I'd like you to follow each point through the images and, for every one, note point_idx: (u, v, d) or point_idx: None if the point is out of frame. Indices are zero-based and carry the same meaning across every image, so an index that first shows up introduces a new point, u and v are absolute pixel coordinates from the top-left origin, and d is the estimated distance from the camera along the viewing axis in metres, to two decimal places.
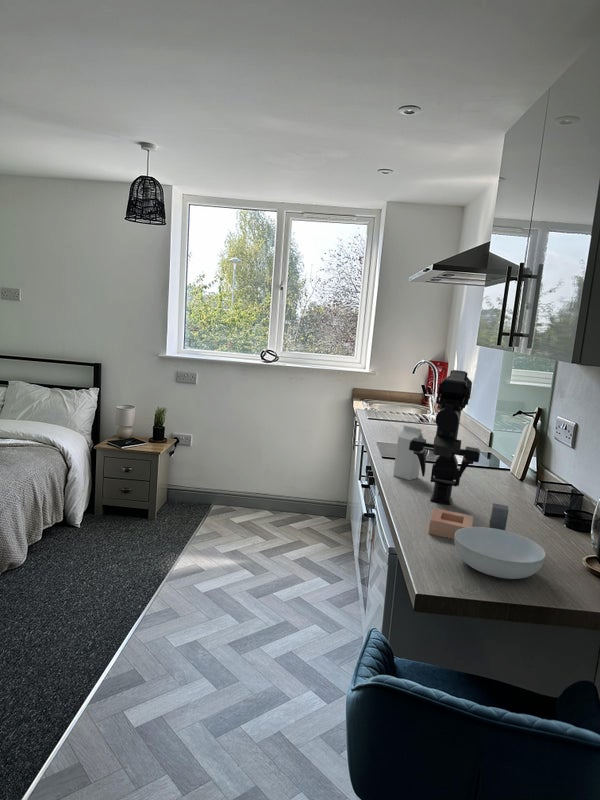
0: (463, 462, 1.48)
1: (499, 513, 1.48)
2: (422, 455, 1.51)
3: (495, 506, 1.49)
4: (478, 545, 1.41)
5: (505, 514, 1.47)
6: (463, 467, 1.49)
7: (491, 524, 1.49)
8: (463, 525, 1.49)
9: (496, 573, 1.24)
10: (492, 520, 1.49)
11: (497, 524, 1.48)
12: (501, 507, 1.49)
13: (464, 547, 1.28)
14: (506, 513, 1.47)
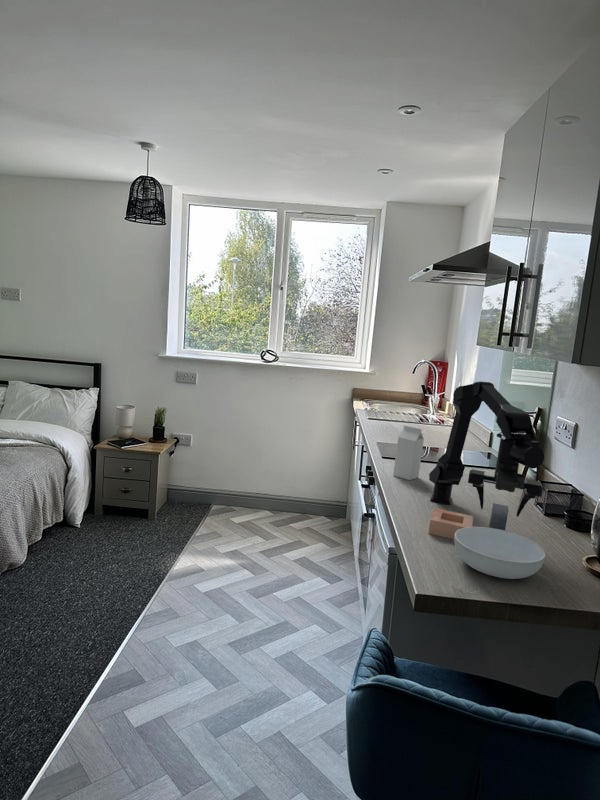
0: (525, 496, 1.45)
1: (499, 513, 1.48)
2: (482, 488, 1.48)
3: (495, 506, 1.49)
4: (478, 545, 1.41)
5: (505, 514, 1.47)
6: (524, 501, 1.46)
7: (491, 524, 1.49)
8: (463, 525, 1.49)
9: (496, 573, 1.24)
10: (492, 520, 1.49)
11: (496, 524, 1.48)
12: (501, 507, 1.49)
13: (464, 547, 1.28)
14: (506, 513, 1.47)
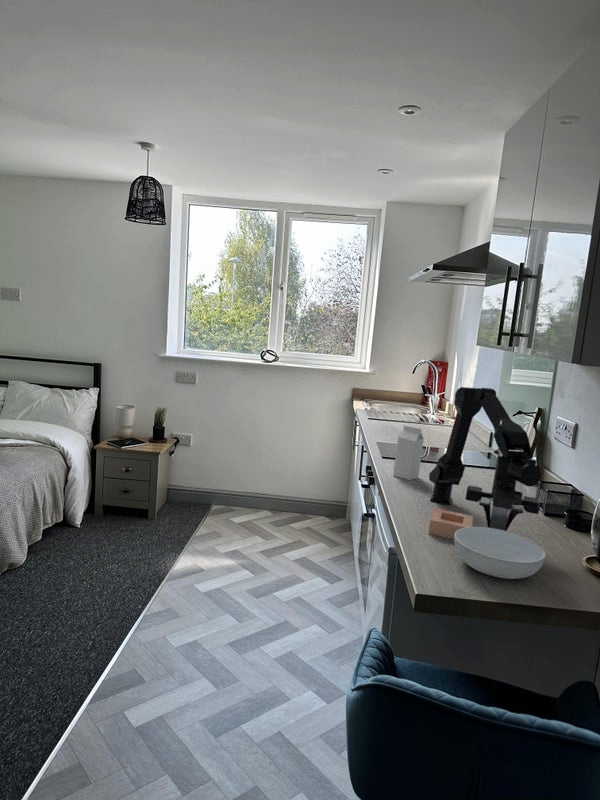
0: (513, 511, 1.46)
1: (499, 513, 1.48)
2: (489, 507, 1.48)
3: None
4: (478, 545, 1.41)
5: (505, 514, 1.47)
6: (512, 516, 1.47)
7: (491, 524, 1.49)
8: (463, 525, 1.49)
9: (496, 573, 1.24)
10: (492, 520, 1.49)
11: (497, 523, 1.48)
12: None
13: (464, 547, 1.28)
14: (506, 513, 1.47)
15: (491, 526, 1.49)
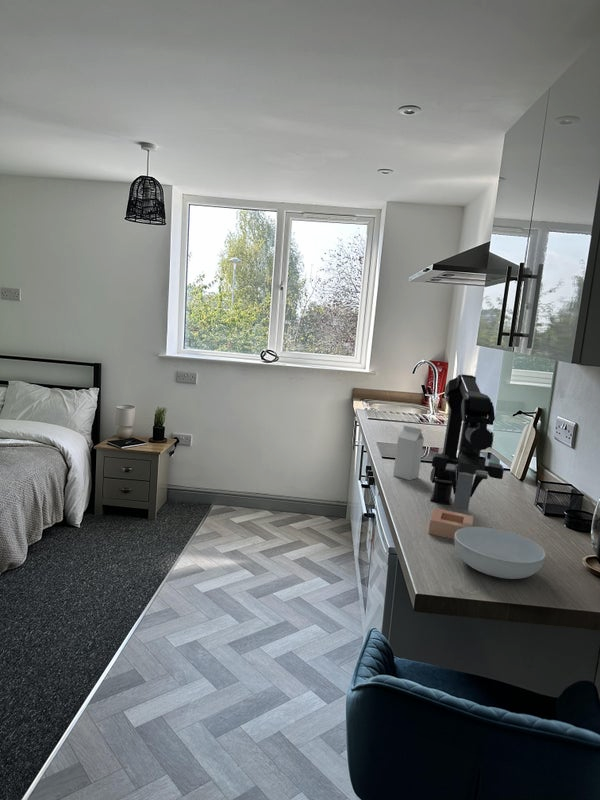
0: (477, 477, 1.48)
1: (464, 479, 1.50)
2: (454, 473, 1.50)
3: None
4: (478, 545, 1.41)
5: (470, 480, 1.50)
6: (477, 482, 1.50)
7: (457, 490, 1.51)
8: (463, 525, 1.49)
9: (496, 573, 1.24)
10: (457, 486, 1.51)
11: (462, 489, 1.51)
12: (466, 473, 1.51)
13: (464, 547, 1.28)
14: (471, 479, 1.49)
15: (457, 492, 1.51)
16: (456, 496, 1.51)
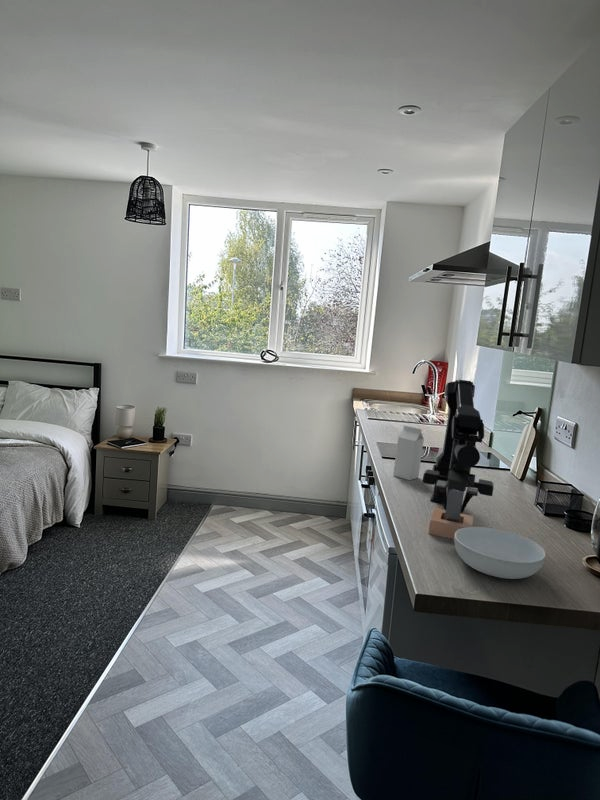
0: (467, 494, 1.49)
1: (455, 495, 1.51)
2: (445, 489, 1.52)
3: None
4: (478, 545, 1.41)
5: (460, 497, 1.51)
6: (467, 498, 1.51)
7: (447, 506, 1.52)
8: (463, 525, 1.49)
9: (496, 573, 1.24)
10: (448, 502, 1.52)
11: (452, 506, 1.52)
12: (457, 490, 1.52)
13: (464, 547, 1.28)
14: (461, 495, 1.51)
15: (447, 508, 1.52)
16: (446, 512, 1.53)
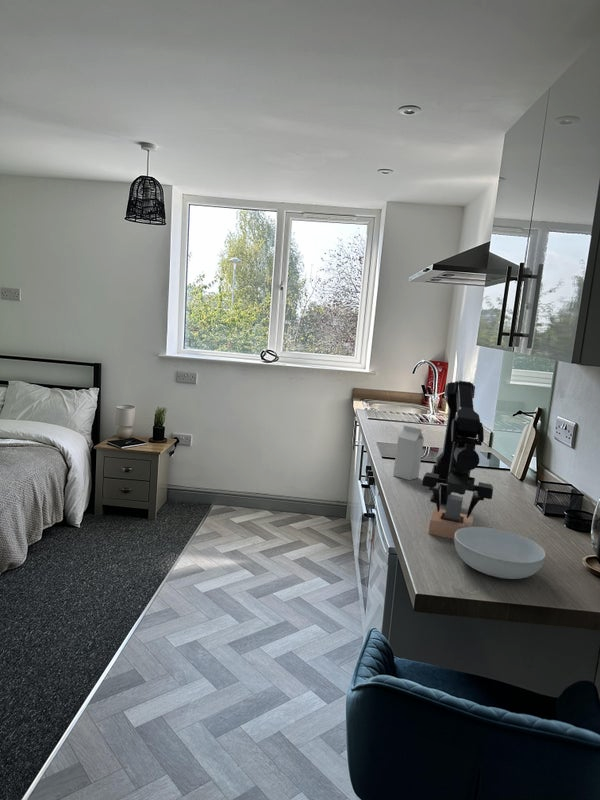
0: (474, 498, 1.49)
1: (453, 504, 1.52)
2: (437, 491, 1.52)
3: (450, 497, 1.53)
4: (478, 545, 1.41)
5: (459, 505, 1.51)
6: (474, 503, 1.50)
7: (446, 514, 1.53)
8: (463, 525, 1.49)
9: (496, 573, 1.24)
10: (447, 511, 1.53)
11: (451, 514, 1.52)
12: (456, 498, 1.53)
13: (464, 547, 1.28)
14: (460, 504, 1.51)
15: (446, 516, 1.53)
16: None
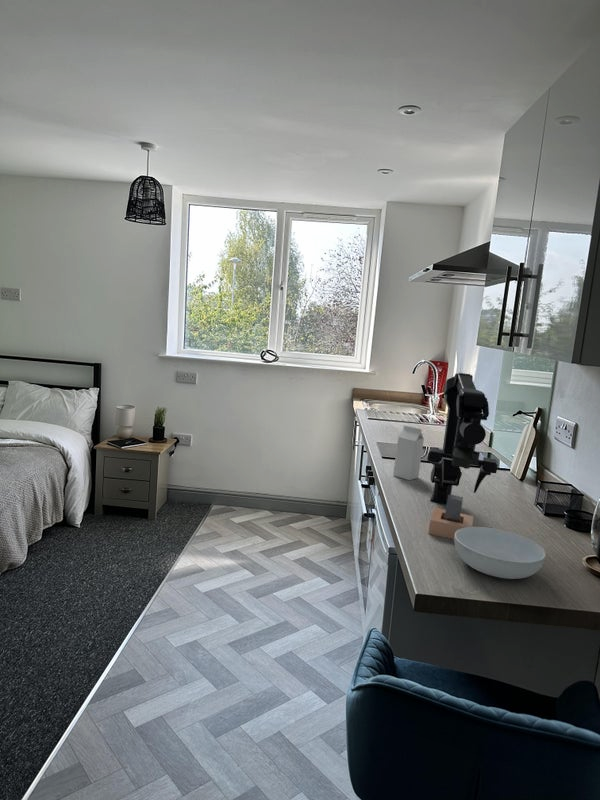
0: (481, 473, 1.51)
1: (453, 504, 1.52)
2: (440, 466, 1.54)
3: (450, 497, 1.53)
4: (478, 545, 1.41)
5: (459, 505, 1.51)
6: (481, 478, 1.52)
7: (446, 514, 1.53)
8: (463, 525, 1.49)
9: (496, 573, 1.24)
10: (447, 511, 1.53)
11: (451, 514, 1.52)
12: (456, 498, 1.53)
13: (464, 547, 1.28)
14: (460, 504, 1.51)
15: (446, 516, 1.53)
16: None
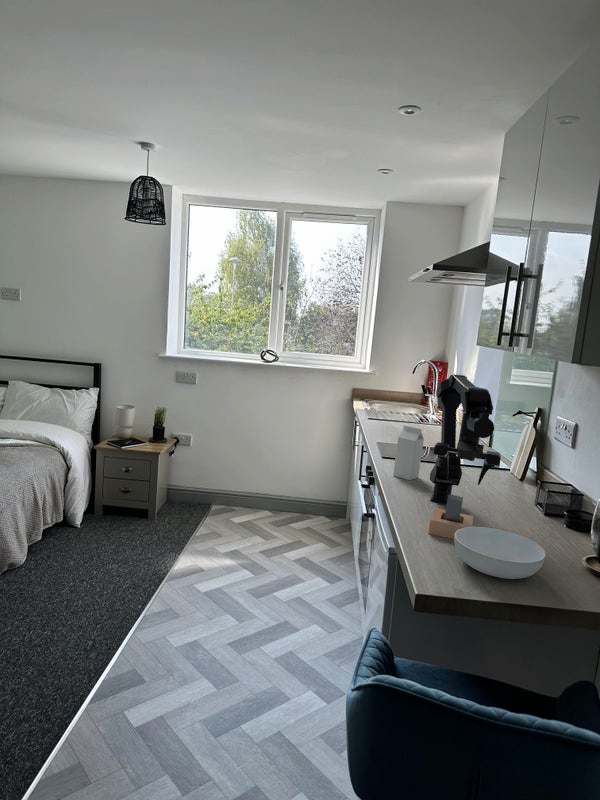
0: (485, 465, 1.58)
1: (453, 504, 1.52)
2: (446, 459, 1.61)
3: (450, 497, 1.53)
4: (478, 545, 1.41)
5: (459, 505, 1.51)
6: (485, 470, 1.59)
7: (446, 514, 1.53)
8: (463, 525, 1.49)
9: (496, 573, 1.24)
10: (447, 511, 1.53)
11: (451, 514, 1.52)
12: (456, 498, 1.53)
13: (464, 547, 1.28)
14: (460, 504, 1.51)
15: (446, 516, 1.53)
16: None
